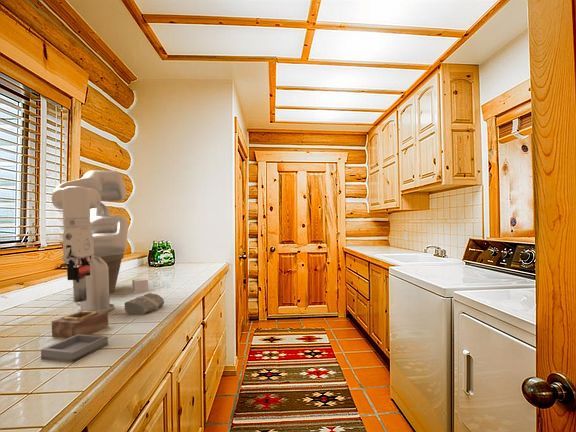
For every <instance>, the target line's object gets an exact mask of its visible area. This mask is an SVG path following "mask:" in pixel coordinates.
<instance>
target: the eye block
mask: <svg viewBox="0 0 576 432" xmlns="http://www.w3.org/2000/svg"><path fill="white" fill-rule="evenodd" d="M108 327H109V311H108V312H98V311H79V312H78V311H77V312H74V313H71V314H68V315H65V316H63V317H61V318H57V319H54V320H52V321H51V337H52V338H64V339H67V338H70V337H72V336H75V335H77V334H85V335H93V334H94V333H96V332H99V331H101V330H103V329H106V328H108Z"/></svg>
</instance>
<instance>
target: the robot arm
mask: <svg viewBox="0 0 576 432" xmlns="http://www.w3.org/2000/svg"><path fill="white" fill-rule="evenodd" d="M125 185H126V184H125V182H124V179H123V176H122V175H121V173H120V172H119V171H116V170H103V169H102V170H98V169H95V170H88V171H87V172H86V173H84V175H83V176H82V177H81V178H78V179H74V180H69V181H66V182H61V183H59V184H58V185H57V186H56V187H55V188H54V190H53V192H52V194H51V203H52V205H53V206H54V208H56V209H58V210H62V222H63V223H62V224H63V225H62V226H63V236H62V237H63V238H62V256H61V260H62V261H63V263H64V265H65V268H66V271H67V272H66V275H67V281H73V280H78V279H79V268H78V267H77V263H78V258H79V259H80V264H79V265H90V273H88V274H86V293H87V300H86V301H82V302H76V303H75V304H76V305H75V306H78V307H79V306H80V308H79V309H78V310H77V312H79V311H98V312H108V313H109V312H110V311H112V310H114V309H115V304H112V303H110V293H109V274H108V265H107V264H106V262H105V261H104V260H103V259H102V258H101V257H102V256H113V255H121V254H123V253H126V251H127V247H128V233H129V232H128V230H129V223H128V220H127V218H126V217H125V216H123V215H121V214H120V215H119V214H116V215H115V214H112V215H111V210H110V208H109V207H107V206H106V205H105V204H104V203H103V202H119V201H123V200H125V199H126V196H127V189H126V186H125ZM74 257H75V258H74ZM72 260H74V263H73V261H72Z"/></svg>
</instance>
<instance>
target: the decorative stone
mask: <svg viewBox="0 0 576 432" xmlns="http://www.w3.org/2000/svg"><path fill="white" fill-rule="evenodd" d="M164 304H165V299H164V298H163V297H162V296H161V295H159V294H158V293H157V294H156V293H150V292H149V293H146V294H144V295H139V296H137V297H135V298H133V299H129V300H128V301H125V302H124V311H125V313H126V314H127V315H128V316H144V315H147V314H151V313H153V312H157V311H158V310H160V309H161V308H162V307H163V306H164Z"/></svg>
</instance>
